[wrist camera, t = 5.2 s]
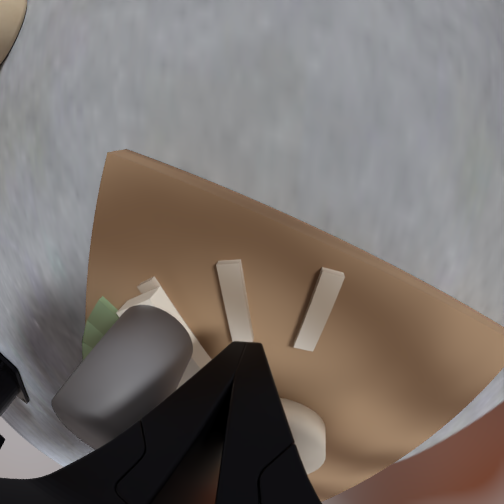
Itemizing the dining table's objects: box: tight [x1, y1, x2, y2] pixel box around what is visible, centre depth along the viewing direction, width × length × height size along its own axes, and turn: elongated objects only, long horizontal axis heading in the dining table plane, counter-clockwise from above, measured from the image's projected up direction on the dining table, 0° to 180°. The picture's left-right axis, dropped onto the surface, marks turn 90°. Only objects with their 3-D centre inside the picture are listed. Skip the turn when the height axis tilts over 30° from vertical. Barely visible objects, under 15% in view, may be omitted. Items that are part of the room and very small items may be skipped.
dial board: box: [82, 149, 504, 502], centre depth 13 cm, size 19×19×2 cm
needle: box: [52, 286, 326, 475], centre depth 9 cm, size 12×6×5 cm, turn 27°
